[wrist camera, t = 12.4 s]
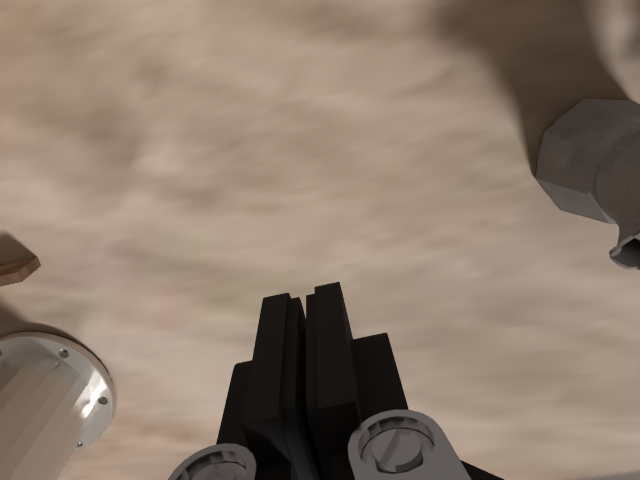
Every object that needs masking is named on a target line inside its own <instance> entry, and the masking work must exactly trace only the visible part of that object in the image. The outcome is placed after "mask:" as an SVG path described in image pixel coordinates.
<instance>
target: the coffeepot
mask: <svg viewBox="0 0 640 480" xmlns="http://www.w3.org/2000/svg"><path fill="white" fill-rule="evenodd" d="M535 178H536V180H537V181H538V182H539V184H540V185H541V186H542V188H543V189H544V191H545V192H546V193H547V194H548V195H549V196H550V198H551V199H552V200H553V201H554V203H555V204H556V205H557V206H558V208H559V209H560V210H562V211H566V212H569V213H573V214H576V215H580V216H584V217H587V218H591V219H594V220H598V221H602V222H605V223H609V224H618V226H619V239H618V244H617V246H616V247H614V248H613V249H612V250H610V251H609V254H610V258H611V259H612V261H614V262H615V263H616V264H618V265H619V266H621V267H623V268H625V269H637V270H640V104H638V103H636V102H634V101H632V100H615V99H589V98H584V99H583V100H582V101H580V102H579V103H578V104H576V105H575V106H574V107H572V108H571V109H570V110H568V111H567V112H565V113H564V114H562V115H561V116H560V117H559V118H558V119H557V120H556V121H555V122H554V123H553V124H552V126H550V127H549V128H548V129H547V130H545V131H544V134H543V138H542V142H541V145H540V149H539V152H538V159H537V171H536V176H535Z"/></svg>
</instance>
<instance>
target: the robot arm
mask: <svg viewBox="0 0 640 480" xmlns="http://www.w3.org/2000/svg"><path fill="white" fill-rule="evenodd" d="M115 404H116V395H115V390H114V385H113V383H112V380H111V378H110V376H109V374H108V372H107V371H106V369H105V368H104V366H103V365H102V364H101V363H100V362H99V361H98V360H97V359H96V358H95V356H94V355H92V354H91V353H90V352H88V351H87V350H86V349H84V348H83V347H82V346H80V345H78V344H76V343H74V342H72V341H70V340H69V339H66V338H63V337H60V336H57V335H54V334H48V333H43V332H20V333H13V334H10V335H7V336H4V337H1V338H0V480H57V479H58V477H59V475H60V473H61V472H62V470H63V468H64V467H65V465H66V463H67V461H68V460H69V458H70V456H71V454H72V453H73V452H76V451H79V450H82V449H84V448H86V447H87V446H89V445H91V444H92V443H94V442H95V441H96V440H97V439H99V438H100V437H101V435H102V434H103V433H104V431H105V430H106V429H107V427H108V425H109V423H110V421H111V419H112V417H113V414H114V410H115ZM168 480H504V479H502V478H499V477H497V476H495V475H493V474H490V473H488V472H486V471H484V470H481V469H479V468H477V467H475V466H473V465H470V464H468V463H466V462H464V461H461V460H460V459H459V458H458V456H457V454H456V453H455V451H454V449H453V448H452V446H451V444H450V442H449V441H448V439H447V437H446V436H445V434H444V432H443V431H442V429H441V428H440V427H439V425H438V424H437V423H436V422H435V421H434V420H433V419H431V418H430V417H428V416H426V415H425V414H423V413H419V412H416V411H412V410H409V409H408V406H407V402H406V399H405V395H404V391H403V388H402V384H401V381H400V377H399V374H398V370H397V366H396V363H395V359H394V356H393V352H392V349H391V345H390V341H389V338H388V335H387V333H382V334H377V335H372V336H368V337H363V338H358V339H353V337H352V333H351V328H350V324H349V320H348V316H347V311H346V307H345V303H344V298H343V294H342V290H341V286H340V282H336V283H331V284H326V285H322V286H317V287H315V294H311V295H306V318H305V314H304V311H303V307H302V303H301V300H300V298H299V297H297V298H292V299H291V297H290V294H289V293H284V294H279V295H275V296H270V297H265V298H263V302H262V307H261V313H260V319H259V325H258V330H257V336H256V342H255V347H254V353H253V359H252V360H251V361H246V362H242V363H237V364H236V365H235V366H234V369H233V373H232V377H231V382H230V386H229V391H228V395H227V399H226V404H225V408H224V413H223V417H222V421H221V426H220V430H219V434H218V439H217V443H216V445H213V446H210V447H207V448H205V449H203V450H200V451H198V452H196V453H195V454H193V455H192V456H190V457H189V458H187V459H186V460H184V461H183V462H182V463H181V464H180V465H179V466H178V467H177V468H176V469H175V470H174V471H173V473H172V474H171V476H170V477H169V479H168Z"/></svg>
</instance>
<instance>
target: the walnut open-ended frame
mask: <svg viewBox="0 0 640 480" xmlns="http://www.w3.org/2000/svg"><path fill="white" fill-rule="evenodd" d="M40 266H41V264H40V262H39V260H38V258H37V257H35V258H30V259H26V260H21V261H17V262H12V263H8V264H3V265H0V286H5V285H9V284H14V283H18V282H22V281H23V280H25V279H26V278H27V277H28V276H29V275H31V274H32V273H33V272H34V271H35V270H37V269H38V268H39V267H40Z"/></svg>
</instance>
